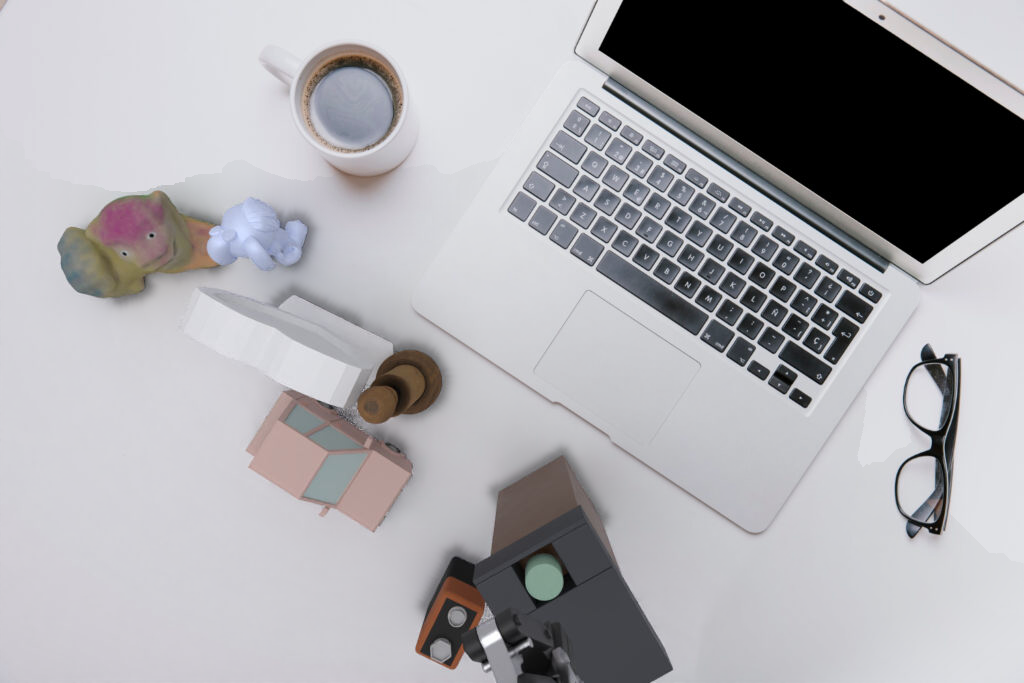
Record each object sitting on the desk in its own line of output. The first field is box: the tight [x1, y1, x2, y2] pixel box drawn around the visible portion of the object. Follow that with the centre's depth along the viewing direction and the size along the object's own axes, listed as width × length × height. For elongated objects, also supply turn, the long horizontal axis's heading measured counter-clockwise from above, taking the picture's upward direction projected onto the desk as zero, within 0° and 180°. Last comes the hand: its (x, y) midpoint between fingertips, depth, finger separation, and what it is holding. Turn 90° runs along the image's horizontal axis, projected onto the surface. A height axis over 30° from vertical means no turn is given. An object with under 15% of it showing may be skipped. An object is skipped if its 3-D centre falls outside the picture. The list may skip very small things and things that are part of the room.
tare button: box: [525, 553, 563, 601], centre depth 47 cm, size 3×3×2 cm
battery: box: [414, 555, 486, 671], centre depth 66 cm, size 4×7×10 cm, turn 154°
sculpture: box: [56, 189, 220, 299], centre depth 65 cm, size 15×8×10 cm, turn 114°
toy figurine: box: [207, 196, 308, 272], centre depth 64 cm, size 7×6×12 cm
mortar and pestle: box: [356, 349, 443, 425], centre depth 61 cm, size 7×6×18 cm
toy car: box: [245, 389, 414, 533], centre depth 66 cm, size 9×15×10 cm, turn 57°
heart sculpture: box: [177, 286, 394, 409], centre depth 61 cm, size 16×5×18 cm, turn 64°
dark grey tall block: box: [473, 454, 674, 683], centre depth 59 cm, size 13×9×24 cm
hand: (549, 640), depth 38 cm, fingers closed
